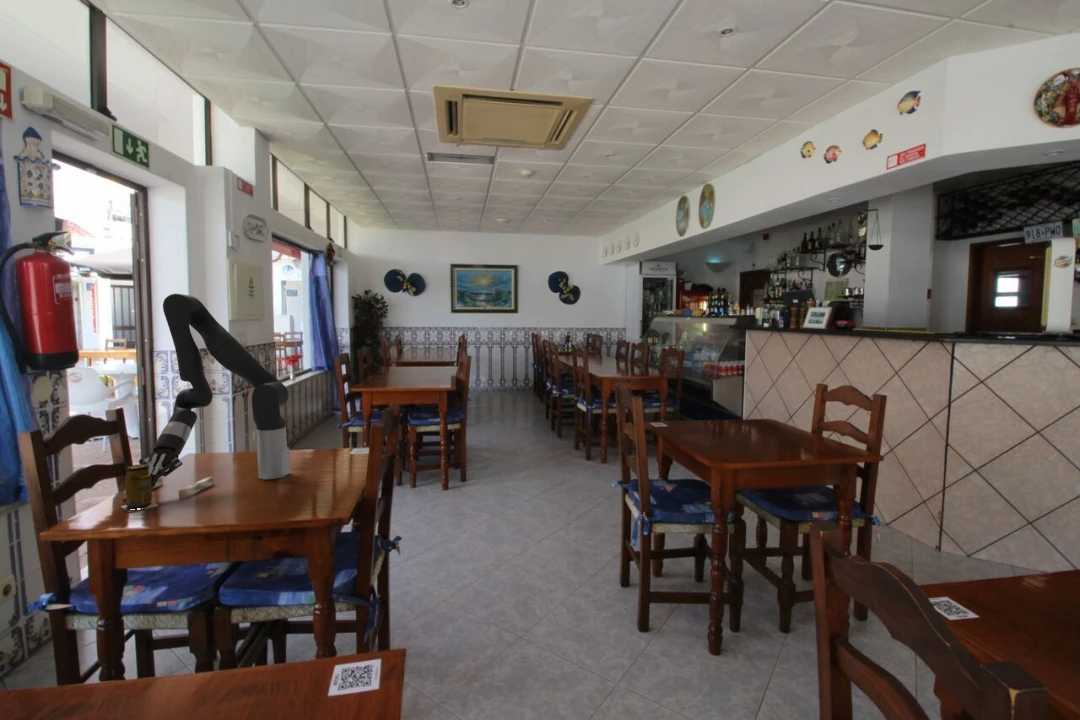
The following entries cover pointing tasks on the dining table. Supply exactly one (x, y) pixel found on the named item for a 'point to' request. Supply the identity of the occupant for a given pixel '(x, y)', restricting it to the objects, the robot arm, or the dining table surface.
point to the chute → (188, 490)
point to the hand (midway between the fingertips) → (147, 487)
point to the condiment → (138, 488)
